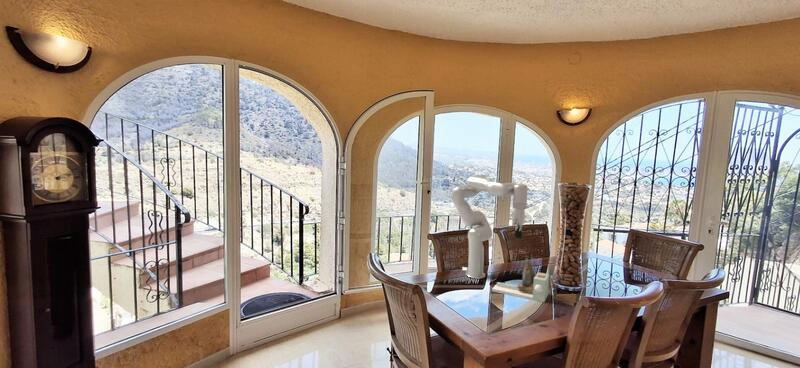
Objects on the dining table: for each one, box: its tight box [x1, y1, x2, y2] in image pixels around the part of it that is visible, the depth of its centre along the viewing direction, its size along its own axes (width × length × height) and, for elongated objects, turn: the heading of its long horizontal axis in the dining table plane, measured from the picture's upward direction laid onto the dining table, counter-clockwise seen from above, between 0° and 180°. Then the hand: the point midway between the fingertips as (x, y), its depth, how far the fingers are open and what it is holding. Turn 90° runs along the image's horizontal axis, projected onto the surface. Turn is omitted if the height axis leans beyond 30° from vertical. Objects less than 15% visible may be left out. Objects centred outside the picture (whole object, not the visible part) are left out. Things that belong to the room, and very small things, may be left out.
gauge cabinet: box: [533, 272, 550, 303], centre depth 210 cm, size 6×12×12 cm, turn 149°
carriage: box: [516, 272, 533, 293], centre depth 214 cm, size 8×6×10 cm
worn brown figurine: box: [522, 258, 536, 285], centre depth 230 cm, size 12×6×18 cm, turn 121°
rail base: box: [491, 281, 534, 301], centre depth 218 cm, size 22×12×4 cm, turn 59°
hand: (518, 237), depth 218 cm, fingers closed
